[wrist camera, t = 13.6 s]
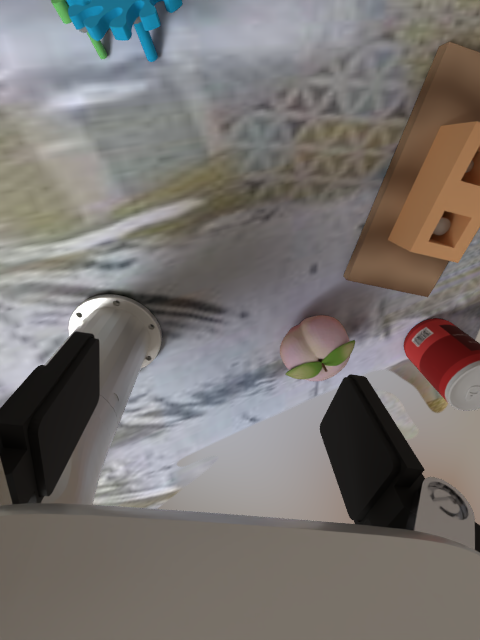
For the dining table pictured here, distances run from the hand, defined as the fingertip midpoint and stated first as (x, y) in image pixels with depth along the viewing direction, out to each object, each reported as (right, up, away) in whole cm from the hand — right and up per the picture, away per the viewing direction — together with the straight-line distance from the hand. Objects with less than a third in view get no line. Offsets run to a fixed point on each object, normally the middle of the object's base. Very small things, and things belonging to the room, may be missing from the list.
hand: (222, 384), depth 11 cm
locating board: (+23, +18, +24) cm, 38 cm away
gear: (-9, +30, +15) cm, 35 cm away
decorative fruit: (+11, +1, +33) cm, 34 cm away
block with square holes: (+23, +17, +22) cm, 36 cm away
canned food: (+30, 0, +35) cm, 45 cm away
